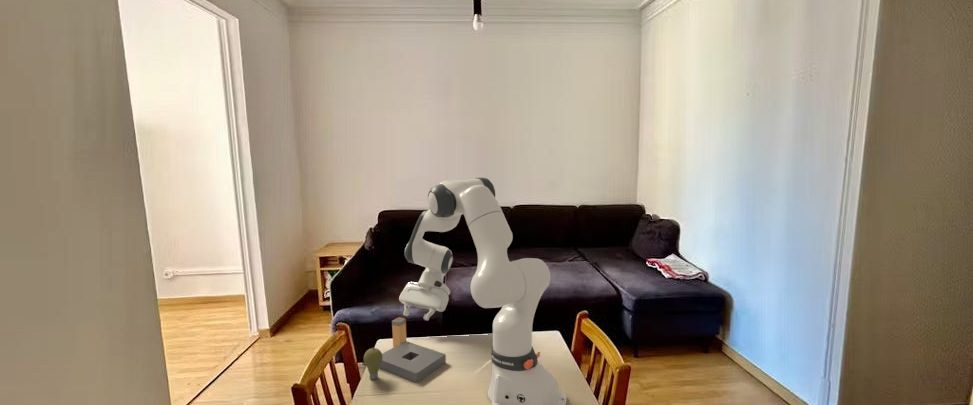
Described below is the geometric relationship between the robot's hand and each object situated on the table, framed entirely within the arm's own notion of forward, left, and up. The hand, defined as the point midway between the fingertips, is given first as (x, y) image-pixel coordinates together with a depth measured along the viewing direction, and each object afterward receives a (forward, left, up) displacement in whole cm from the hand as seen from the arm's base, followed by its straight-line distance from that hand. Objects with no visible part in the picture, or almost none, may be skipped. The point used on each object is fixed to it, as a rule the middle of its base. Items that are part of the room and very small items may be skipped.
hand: (415, 317), depth 160 cm
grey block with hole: (-14, +18, -7) cm, 24 cm away
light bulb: (-10, +30, -7) cm, 32 cm away
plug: (-1, +10, -7) cm, 12 cm away
